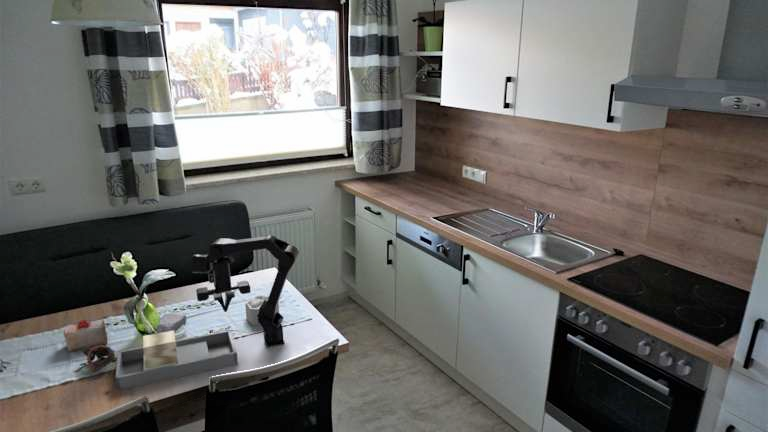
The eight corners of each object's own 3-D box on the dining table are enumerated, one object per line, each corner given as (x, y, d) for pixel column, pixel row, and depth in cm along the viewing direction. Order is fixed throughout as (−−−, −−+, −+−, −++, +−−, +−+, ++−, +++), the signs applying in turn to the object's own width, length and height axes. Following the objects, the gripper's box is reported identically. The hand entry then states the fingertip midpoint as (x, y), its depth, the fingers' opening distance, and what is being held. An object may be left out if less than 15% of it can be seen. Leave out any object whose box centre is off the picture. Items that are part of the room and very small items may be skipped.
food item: (65, 354, 185) (60, 330, 183) (67, 343, 192) (62, 320, 189) (108, 345, 191) (103, 322, 188) (108, 335, 198) (104, 312, 195)
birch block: (176, 350, 183) (174, 330, 181) (178, 362, 176) (175, 341, 174) (146, 356, 179) (143, 336, 177) (146, 368, 172) (142, 347, 170)
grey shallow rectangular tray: (231, 340, 195) (230, 329, 194) (237, 364, 181) (236, 352, 179) (120, 362, 181) (118, 351, 180) (117, 390, 166) (115, 378, 165)
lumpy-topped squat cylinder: (244, 316, 213) (242, 297, 211) (274, 308, 220) (273, 290, 217) (252, 327, 205) (251, 307, 202) (283, 318, 212) (282, 299, 209)
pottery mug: (124, 357, 185) (119, 346, 179) (107, 381, 178) (102, 370, 172) (93, 347, 185) (87, 335, 179) (75, 370, 179) (69, 359, 173)
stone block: (150, 337, 201) (173, 335, 199) (147, 326, 200) (169, 324, 197) (168, 323, 212) (189, 321, 210) (164, 312, 211) (186, 310, 209)
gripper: (244, 261, 198) (247, 298, 203) (193, 268, 191) (197, 306, 196) (249, 272, 188) (252, 310, 193) (195, 280, 181) (199, 319, 186)
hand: (225, 311), depth 192 cm, fingers closed
